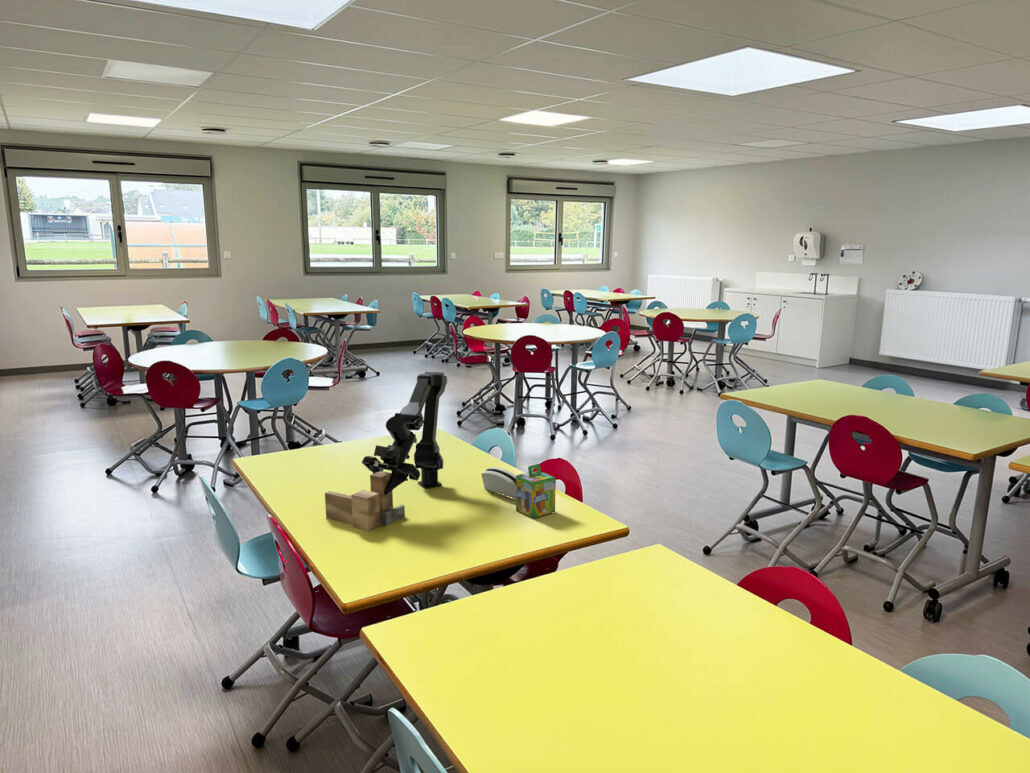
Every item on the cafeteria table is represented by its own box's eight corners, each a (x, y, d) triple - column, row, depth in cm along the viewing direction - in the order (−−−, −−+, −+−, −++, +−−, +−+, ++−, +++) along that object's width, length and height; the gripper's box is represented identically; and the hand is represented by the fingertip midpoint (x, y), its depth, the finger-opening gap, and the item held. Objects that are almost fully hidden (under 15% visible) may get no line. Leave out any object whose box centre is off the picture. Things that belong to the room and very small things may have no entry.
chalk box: (533, 519, 210) (533, 472, 207) (514, 510, 217) (514, 465, 214) (556, 512, 216) (557, 466, 213) (537, 504, 223) (538, 459, 220)
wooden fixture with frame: (355, 504, 222) (354, 474, 220) (404, 516, 212) (403, 484, 211) (322, 519, 210) (320, 488, 208) (373, 532, 200) (371, 499, 198)
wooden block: (381, 508, 213) (380, 470, 211) (393, 511, 211) (392, 473, 209) (371, 513, 210) (369, 475, 207) (383, 516, 207) (381, 477, 205)
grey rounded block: (529, 497, 229) (522, 472, 225) (520, 505, 226) (512, 479, 222) (494, 485, 241) (487, 461, 237) (485, 492, 238) (477, 468, 234)
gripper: (364, 430, 214) (340, 474, 206) (413, 438, 205) (390, 485, 197) (382, 448, 222) (360, 492, 215) (429, 457, 213) (408, 502, 206)
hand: (378, 492), depth 208 cm, fingers closed on wooden block, 4 cm apart
